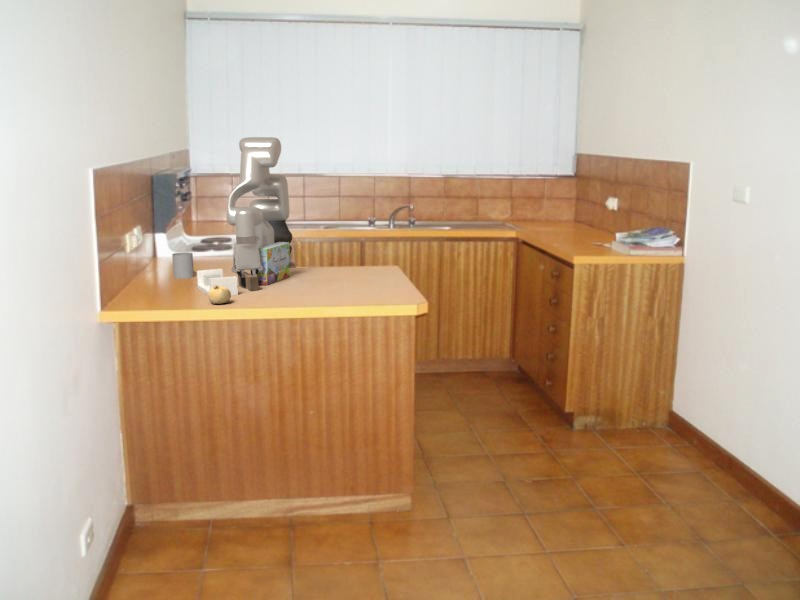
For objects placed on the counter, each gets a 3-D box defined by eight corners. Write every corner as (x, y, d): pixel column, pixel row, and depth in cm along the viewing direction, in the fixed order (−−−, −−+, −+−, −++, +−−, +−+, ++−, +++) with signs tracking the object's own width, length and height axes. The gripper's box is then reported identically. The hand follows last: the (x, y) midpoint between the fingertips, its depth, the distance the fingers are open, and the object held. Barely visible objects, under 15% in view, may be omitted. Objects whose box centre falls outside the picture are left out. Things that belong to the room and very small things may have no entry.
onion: (210, 301, 285) (209, 282, 283) (232, 300, 285) (231, 281, 284) (206, 306, 277) (205, 286, 275) (229, 305, 277) (228, 286, 276)
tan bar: (246, 283, 318) (245, 271, 317) (258, 290, 304) (257, 277, 303) (238, 284, 316) (237, 272, 315) (250, 291, 302) (249, 278, 301)
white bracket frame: (222, 285, 314) (221, 268, 312) (237, 294, 296) (236, 276, 294) (197, 288, 309) (196, 270, 308) (211, 297, 291) (210, 279, 289)
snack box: (268, 285, 314) (267, 248, 310) (256, 285, 315) (254, 248, 312) (291, 276, 333) (290, 241, 330) (279, 276, 335) (277, 241, 332)
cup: (188, 279, 328) (186, 255, 326) (170, 278, 330) (168, 255, 328) (197, 275, 336) (195, 252, 334) (179, 275, 338) (178, 252, 336)
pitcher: (244, 257, 387) (241, 206, 382) (267, 251, 406) (265, 203, 401) (279, 259, 379) (277, 207, 374) (302, 253, 399) (300, 204, 393)
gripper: (262, 238, 313) (264, 283, 317) (223, 241, 306) (225, 287, 309) (268, 240, 307) (270, 286, 310) (228, 243, 299) (230, 290, 303)
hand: (248, 286), depth 310 cm, fingers closed on tan bar, 2 cm apart
